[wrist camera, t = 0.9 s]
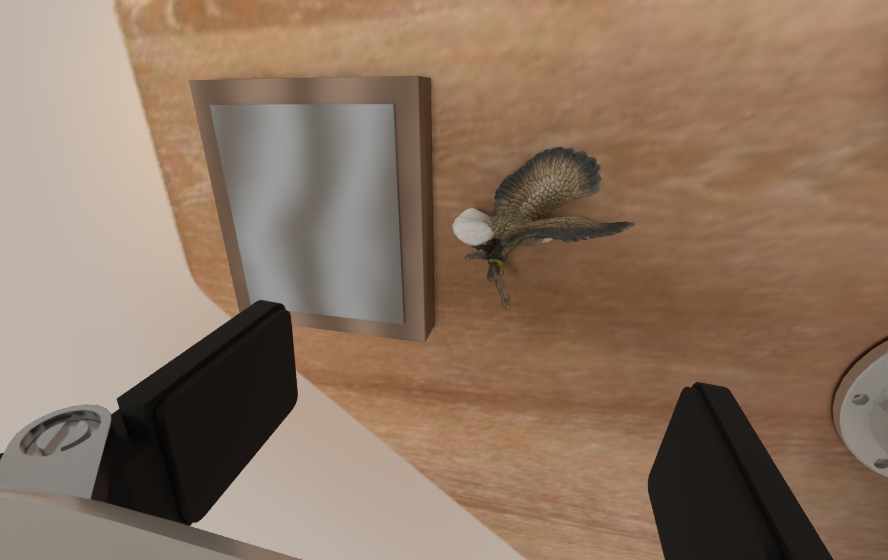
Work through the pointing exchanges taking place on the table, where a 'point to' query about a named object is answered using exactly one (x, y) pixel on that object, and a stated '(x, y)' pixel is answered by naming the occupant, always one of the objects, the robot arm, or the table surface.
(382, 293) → the picture frame
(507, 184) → the eagle figurine
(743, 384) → the table surface
